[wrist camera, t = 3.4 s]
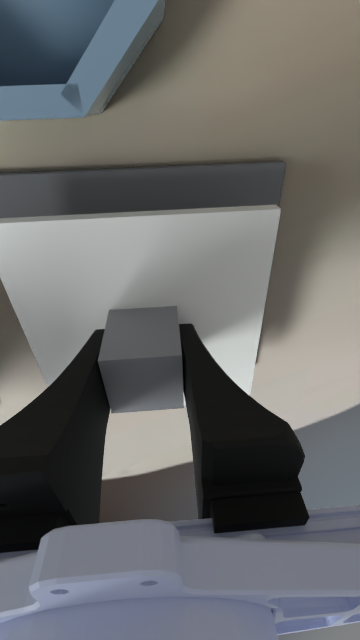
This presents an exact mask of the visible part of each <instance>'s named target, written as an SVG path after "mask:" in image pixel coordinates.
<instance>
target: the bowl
mask: <svg viewBox="0 0 360 640" xmlns="http://www.w3.org/2000/svg"><path fill="white" fill-rule="evenodd" d="M164 11H165V0H0V121H2V120H28V119H55V118H81V117H87V116H91V115H95V114H99V113H102V112H103V111H104V109H105V107H106V106H107V104H108V103H109V101H110V100H111V98H112V97H113V95H114V94H115V92H116V91H117V89H118V88H119V86H120V85H121V83H122V81H123V80H124V78H125V77H126V75H127V74H128V72H129V71H130V69H131V68H132V66H133V65H134V63H135V62H136V60H137V59H138V57H139V56H140V54H141V52H142V51H143V49H144V48H145V46H146V45H147V43H148V42H149V40H150V39H151V37H152V36H153V34H154V33H155V31H156V30H157V28H158V27H159V25H160V23H161V22H162V20H163V19H164Z"/></svg>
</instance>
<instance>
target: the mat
mask: <svg viewBox="0 0 360 640" xmlns="http://www.w3.org/2000/svg"><path fill="white" fill-rule="evenodd" d="M285 166H286V163H285V162H283V161H269V162H246V163H223V164H200V165H178V166H155V167H132V168H109V169H86V170H64V171H41V172H18V173H0V218H17V217H37V216H57V215H77V214H97V213H117V212H137V211H157V210H177V209H197V208H217V207H237V206H257V205H277V206H278V207H279V203H280V197H281V191H282V185H283V179H284V173H285Z"/></svg>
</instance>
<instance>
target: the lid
mask: <svg viewBox="0 0 360 640" xmlns="http://www.w3.org/2000/svg"><path fill="white" fill-rule="evenodd" d="M280 213H281V209H280V208H279V207H278V206H277V205H257V206H237V207H217V208H197V209H177V210H157V211H137V212H117V213H97V214H77V215H57V216H37V217H17V218H0V278H1V281H2V283H3V285H4V288H5V290H6V292H7V295H8V297H9V299H10V301H11V304H12V306H13V308H14V311H15V313H16V315H17V317H18V320H19V322H20V324H21V327H22V329H23V331H24V333H25V336H26V338H27V340H28V343H29V345H30V347H31V349H32V352H33V354H34V356H35V359H36V361H37V363H38V365H39V368H40V370H41V372H42V375H43V377H44V379H45V382H46V384H47V386H48V387H49V386H50V385H51V384H52V383H53V382H54V381H55V380H56V379H57V378H58V376H59V375H60V374H61V373H62V372H63V371H64V370H65V369H66V367H67V366H68V365H69V364H70V363H71V362H72V360H73V359H74V358H75V356H76V355H77V354H78V353H79V351H80V350H81V349H82V347H83V346H84V345H85V343H86V342H87V341H88V339H89V338H90V336H91V335H92V334H93V332H94V331H95V330H96V329H105V330H104V335H103V339H102V344H101V348H100V353H99V357H98V364H99V368H100V371H101V375H102V379H103V383H104V386H105V390H106V394H107V398H108V401H109V405H110V411H111V413H122V412H136V411H150V410H163V409H177V408H184V405H186V402H185V397H184V392H183V368H182V350H181V340H180V331H179V324H189V323H191V324H193V325H194V328H195V330H196V332H197V334H198V336H199V337H200V339H201V341H202V342H203V344H204V345H205V347H206V348H207V350H208V351H209V353H210V354H211V356H212V357H213V358H214V360H215V361H216V362H217V363H218V365H219V366H220V367H221V368H222V369H223V371H224V372H225V373H226V374H227V375H228V376H229V377H230V378H231V379H232V380H233V381H234V382H235V383H236V384H237V385H238V386H239V387H240V388H241V389H242V390H243V391H245V392H246V393H247V394H248V395H249V396H250V392H251V386H252V380H253V374H254V368H255V362H256V356H257V350H258V344H259V338H260V332H261V326H262V320H263V314H264V308H265V302H266V296H267V291H268V285H269V279H270V273H271V267H272V261H273V255H274V249H275V243H276V237H277V231H278V225H279V219H280Z"/></svg>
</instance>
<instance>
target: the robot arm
mask: <svg viewBox="0 0 360 640" xmlns="http://www.w3.org/2000/svg"><path fill="white" fill-rule="evenodd" d="M104 330H105V329H96V330H95V331H94V332H93V334H92V335H91V336H90V338H89V339H88V341H87V342H86V343H85V345H84V346H83V347H82V349H81V350H80V351H79V353H78V354H77V355H76V356H75V358H74V359H73V360H72V362H71V363H70V364H69V365H68V366H67V367H66V369H65V370H64V371H63V372H62V373H61V374H60V375H59V376H58V378H57V379H56V380H55V381H54V382H53V383H52V384H51V385H50V386H49V387H48V388H47V389H46V390H45V391H44V392H43V393H41V394H40V395H39V396H38V397H37V398H36V399H34V400H33V401H32V402H31V403H30V404H28V405H27V406H26V407H25V408H24V409H22V410H21V411H20V412H19V413H17V414H16V415H14V416H13V417H12V418H10V419H9V420H8V421H6V422H5V423H3V424H2V425H1V426H0V640H279V639H278V635H281V634H288V633H294V632H300V631H307V630H313V629H319V628H325V627H332V626H338V625H344V624H351V623H356V622H360V505H354V506H343V507H331V508H320V509H309V510H307V509H306V506H305V504H304V501H303V498H302V495H301V493H300V492H301V490H302V487H301V484H300V482H299V479H298V474H299V472H300V469H301V467H302V465H303V462H304V458H305V455H304V452H303V449H302V447H301V444H300V442H299V440H298V439H297V437H296V435H295V433H294V432H293V430H292V428H291V427H290V425H289V424H288V423H287V422H286V421H284V420H283V419H281V418H279V417H278V416H276V415H275V414H273V413H272V412H270V411H268V410H267V409H266V408H264V407H263V406H262V405H260V404H259V403H258V402H256V401H255V400H254V399H253V398H252V397H250V396H249V395H248V394H247V393H246V392H245V391H243V390H242V389H241V388H240V387H239V386H238V385H237V384H236V383H235V382H234V381H233V380H232V379H231V378H230V377H229V376H228V375H227V374H226V373H225V372H224V371H223V369H222V368H221V367H220V366H219V365H218V363H217V362H216V361H215V360H214V358H213V357H212V356H211V354H210V353H209V351H208V350H207V348H206V347H205V345H204V344H203V342H202V341H201V339H200V337H199V336H198V334H197V332H196V330H195V328H194V325H193V324H191V323H189V324H179V331H180V340H181V350H182V368H183V392H184V397H185V402H186V407H187V413H188V418H189V424H190V431H191V442H192V452H193V463H194V474H195V485H196V496H197V507H198V519H196V520H185V521H174V522H165V521H162V520H150V519H144V520H143V519H142V520H131V521H120V522H109V523H99V515H100V497H101V481H102V468H103V455H104V444H105V435H106V428H107V423H108V418H109V413H110V405H109V401H108V398H107V394H106V390H105V386H104V383H103V379H102V375H101V371H100V368H99V364H98V357H99V353H100V348H101V344H102V339H103V335H104Z"/></svg>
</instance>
